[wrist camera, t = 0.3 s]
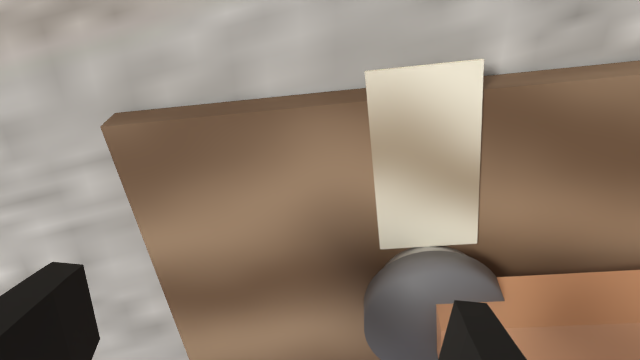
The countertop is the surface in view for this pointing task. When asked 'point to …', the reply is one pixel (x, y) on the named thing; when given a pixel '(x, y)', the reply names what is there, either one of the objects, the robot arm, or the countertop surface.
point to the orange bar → (502, 309)
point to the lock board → (376, 195)
